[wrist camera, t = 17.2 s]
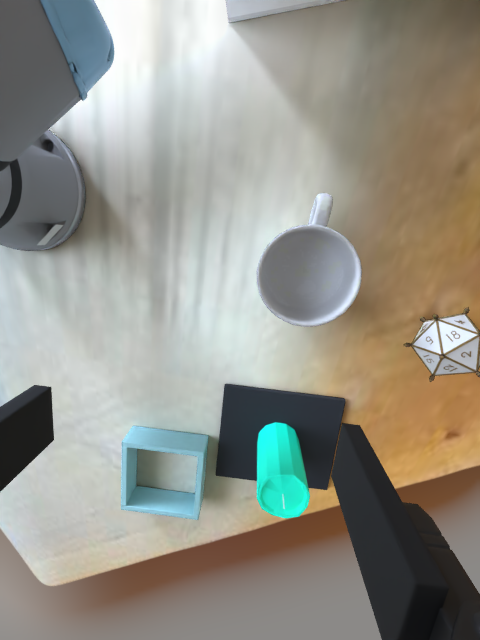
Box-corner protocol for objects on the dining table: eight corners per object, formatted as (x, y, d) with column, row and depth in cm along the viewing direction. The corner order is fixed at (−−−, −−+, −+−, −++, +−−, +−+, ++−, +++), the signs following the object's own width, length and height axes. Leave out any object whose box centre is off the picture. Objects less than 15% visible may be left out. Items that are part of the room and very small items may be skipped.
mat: (216, 471, 48) (215, 475, 48) (225, 383, 45) (224, 386, 44) (326, 486, 48) (327, 490, 47) (344, 398, 44) (345, 400, 43)
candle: (306, 444, 45) (323, 514, 34) (273, 465, 46) (278, 539, 35) (282, 414, 44) (290, 475, 33) (248, 436, 46) (245, 502, 34)
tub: (131, 489, 50) (120, 509, 46) (132, 425, 47) (121, 441, 43) (202, 498, 50) (198, 520, 46) (208, 435, 47) (204, 452, 43)
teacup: (320, 323, 42) (334, 341, 34) (245, 294, 41) (242, 306, 34) (368, 221, 38) (396, 216, 31) (286, 188, 38) (293, 174, 30)
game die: (419, 314, 44) (484, 282, 35) (458, 365, 43) (537, 346, 34) (376, 343, 41) (436, 316, 32) (417, 400, 40) (492, 389, 30)
